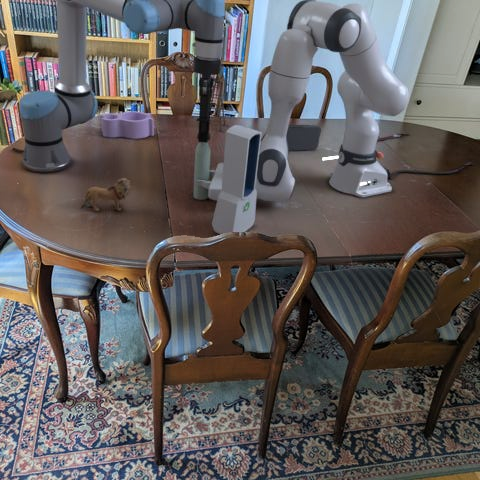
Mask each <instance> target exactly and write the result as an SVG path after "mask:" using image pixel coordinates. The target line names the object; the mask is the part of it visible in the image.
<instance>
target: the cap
mask: <svg viewBox="0 0 480 480" xmlns="http://www.w3.org/2000/svg"><path fill="white" fill-rule="evenodd" d="M198 137H199V132H197V135H196V139H197V140H198ZM210 140H211V133H210V132H209V133H208V141H210Z"/></svg>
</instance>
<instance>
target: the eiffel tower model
mask: <svg viewBox="0 0 480 480" xmlns="http://www.w3.org/2000/svg"><path fill="white" fill-rule="evenodd" d="M220 59H221V72H220V73H219V74H217V75H215V77H213V79H214V84H213V91H212V96H211V105H210V108H211V110H210V112H212V110H217V111H218V113H219V114H218V115H216V114H212V115H209V116H210V117H216V118H219V119H218V120H219V121H218V120H212V119H210V122H213V123H219V132H221V131H222V123H223V126H226V116H225V109H224V100H223V94H222V84H221V83H223V82H225V79H223V78H222V75H223V69H224V57H223V56H222V57H221V58H220ZM216 89H217V91H218V93H215V92H216ZM215 96H216V97H215ZM214 99H217V100H218V104H216V103H213V102H214ZM213 106H216V107H217V106H218V108H216V107H213ZM221 111H222V113H221Z"/></svg>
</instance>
